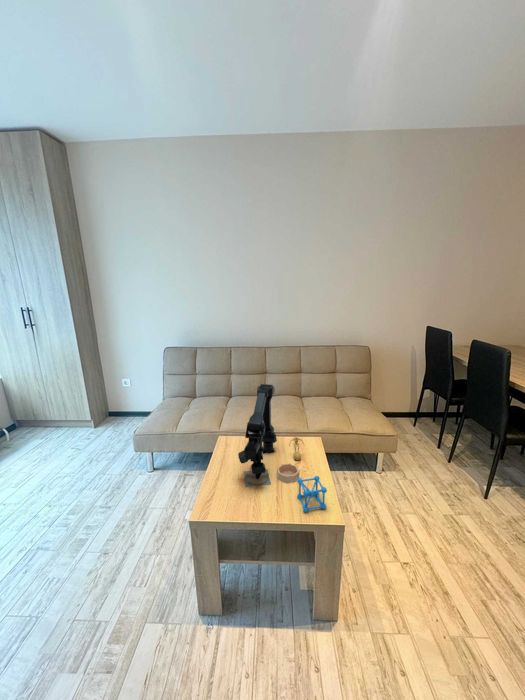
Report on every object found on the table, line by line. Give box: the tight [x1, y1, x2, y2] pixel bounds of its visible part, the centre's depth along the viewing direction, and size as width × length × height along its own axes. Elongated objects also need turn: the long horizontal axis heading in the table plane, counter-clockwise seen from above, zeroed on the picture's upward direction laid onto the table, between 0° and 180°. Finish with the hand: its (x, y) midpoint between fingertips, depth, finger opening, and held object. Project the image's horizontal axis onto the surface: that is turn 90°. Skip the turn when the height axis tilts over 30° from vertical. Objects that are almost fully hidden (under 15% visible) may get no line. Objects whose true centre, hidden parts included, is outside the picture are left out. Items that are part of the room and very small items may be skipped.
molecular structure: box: [296, 475, 328, 513], centre depth 126 cm, size 10×10×10 cm
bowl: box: [276, 463, 300, 484], centre depth 145 cm, size 10×10×4 cm
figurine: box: [288, 436, 305, 461], centre depth 159 cm, size 8×6×12 cm
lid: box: [246, 470, 269, 485], centre depth 144 cm, size 11×11×5 cm
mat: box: [243, 468, 272, 488], centre depth 144 cm, size 12×12×1 cm
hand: (256, 475), depth 144 cm, fingers open, 5 cm apart
